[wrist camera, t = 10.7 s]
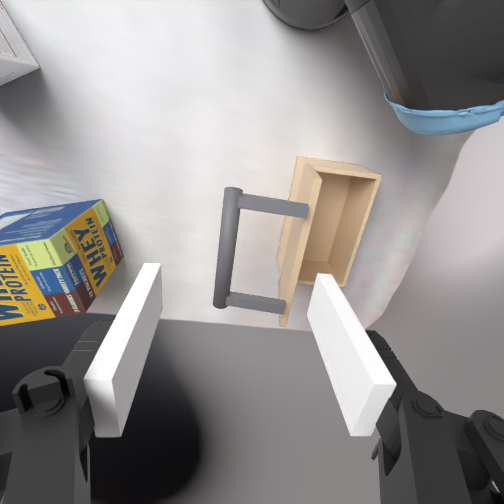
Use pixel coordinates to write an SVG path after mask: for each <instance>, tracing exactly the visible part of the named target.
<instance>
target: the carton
mask: <svg viewBox="0 0 504 504" xmlns="http://www.w3.org/2000/svg"><path fill="white" fill-rule="evenodd" d="M304 163H308V164H311V165H312V166H313V168H314V169H315V171H316V172H317V173H318V175H319V176H320V177H321V179H322V183H321V187H320V191H319V195H318V200H317V204H316V208H315V212H314V216H313V220H312V224H311V228H310V232H309V236H308V240H307V244H306V248H305V252H304V256H303V260H302V264H301V268H300V272H299V276H298V280H297V284H306V285H315V281H316V277H317V273H320V274H332V276H333V278H334V279H335V281H336V283H337V284H338V286H339V287H345V285H346V282H347V279H348V276H349V273H350V270H351V267H352V264H353V261H354V258H355V255H356V252H357V249H358V246H359V243H360V240H361V237H362V234H363V231H364V228H365V225H366V222H367V219H368V217H369V214H370V211H371V208H372V205H373V202H374V199H375V196H376V193H377V190H378V187H379V184H380V181H381V178H382V175H381V174H378V173H376V172H374V171H371V170H369V169H367V168H364V167H362V166H360V165H357V164H350V163H343V162H336V161H328V160H321V159H314V158H307V157H300V156H297V159H296V164H295V168H294V173H293V178H292V183H291V188H290V193H289V198H288V201H293V202H296V200H297V195H298V191H299V186H300V181H301V177H302V172H303V168H304ZM292 219H293V217H292V216H286V215H285V218H284V223H283V228H282V233H281V238H280V243H279V248H278V252H277V257H276V260H277V263H278V265H279V268H280V271H281V270H282V265H283V260H284V256H285V251H286V246H287V242H288V237H289V233H290V228H291V223H292Z"/></svg>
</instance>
